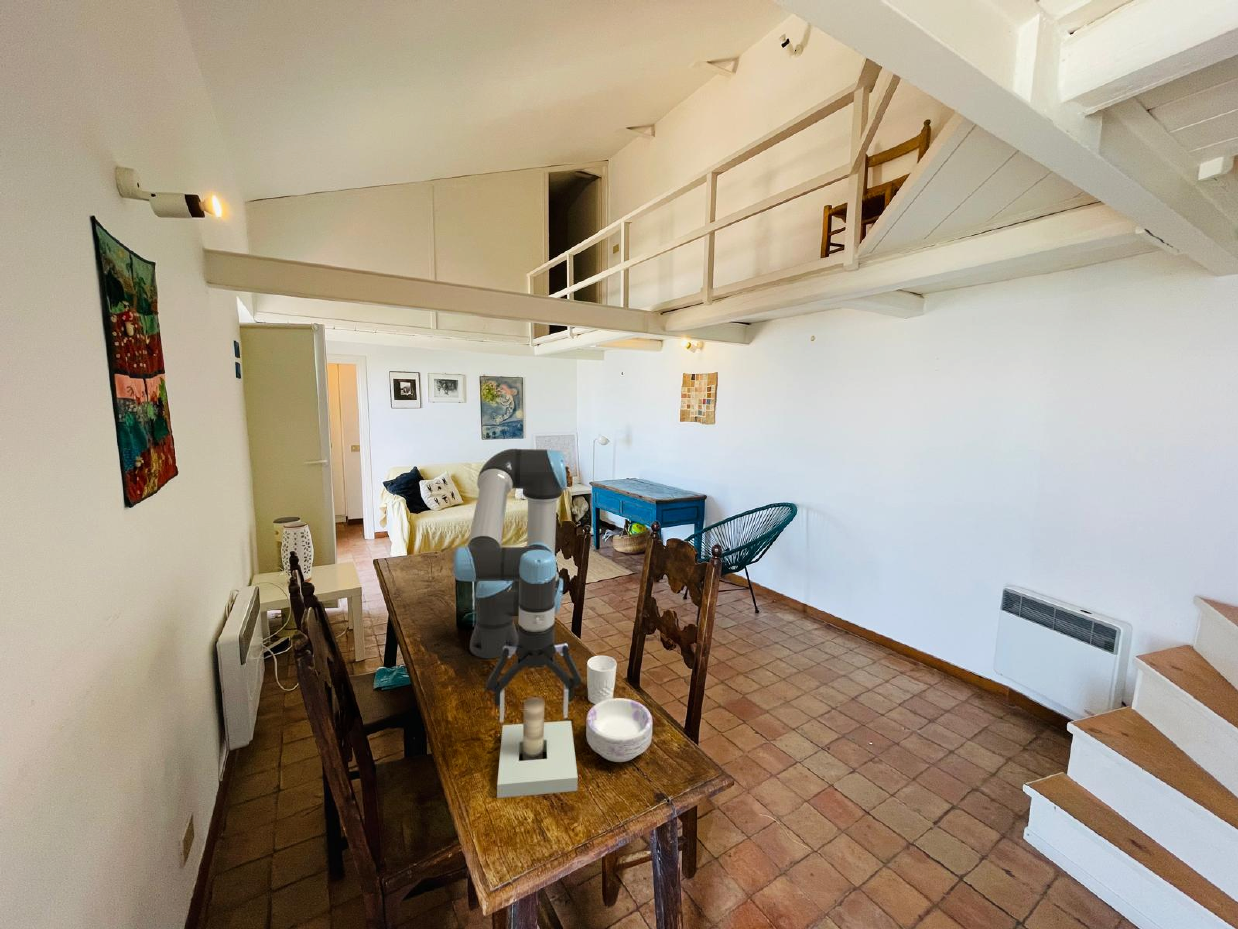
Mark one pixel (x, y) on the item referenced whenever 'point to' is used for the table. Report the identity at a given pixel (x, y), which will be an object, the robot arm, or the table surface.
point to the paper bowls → (619, 729)
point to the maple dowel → (533, 729)
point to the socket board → (537, 762)
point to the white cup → (600, 678)
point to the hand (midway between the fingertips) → (533, 716)
